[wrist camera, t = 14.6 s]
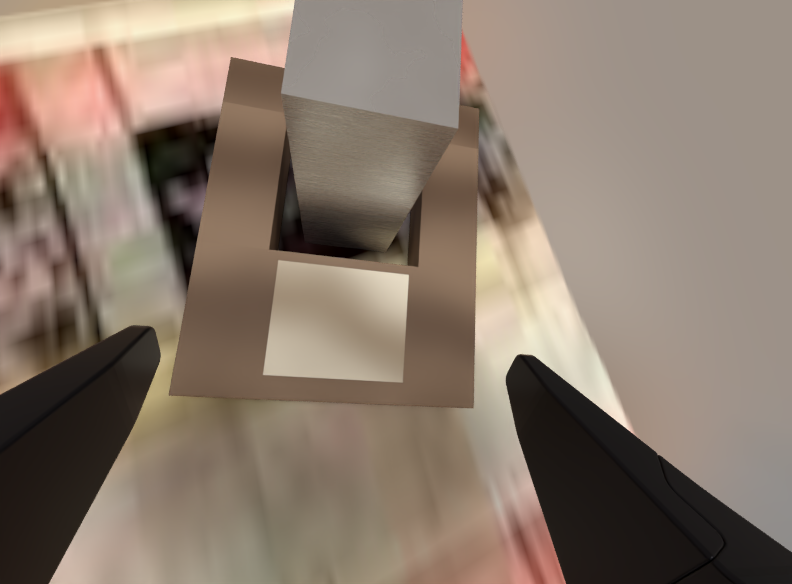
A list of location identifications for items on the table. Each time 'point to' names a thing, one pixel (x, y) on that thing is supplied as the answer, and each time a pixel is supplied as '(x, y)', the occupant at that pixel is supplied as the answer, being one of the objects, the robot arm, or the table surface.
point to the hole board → (324, 279)
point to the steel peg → (368, 111)
